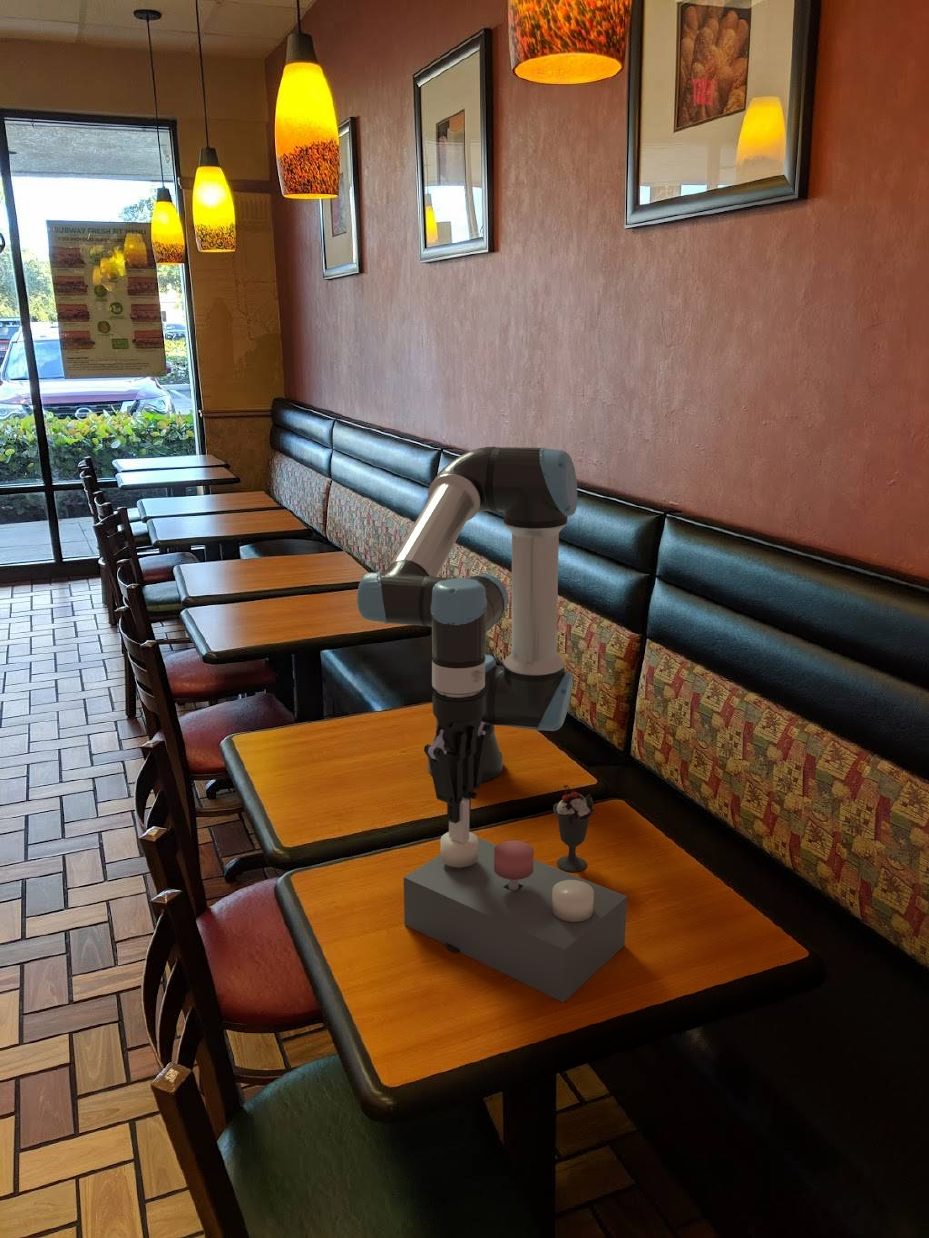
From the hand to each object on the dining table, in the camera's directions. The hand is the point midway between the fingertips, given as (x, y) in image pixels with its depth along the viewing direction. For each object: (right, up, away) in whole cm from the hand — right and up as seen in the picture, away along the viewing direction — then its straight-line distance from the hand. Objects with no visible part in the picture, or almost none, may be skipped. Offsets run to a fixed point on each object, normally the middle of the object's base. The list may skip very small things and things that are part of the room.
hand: (459, 838), depth 144 cm
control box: (+8, -14, -2) cm, 16 cm away
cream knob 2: (+16, -12, -9) cm, 22 cm away
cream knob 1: (0, -8, +2) cm, 8 cm away
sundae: (+19, -8, +16) cm, 26 cm away
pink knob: (+8, -8, -4) cm, 12 cm away
